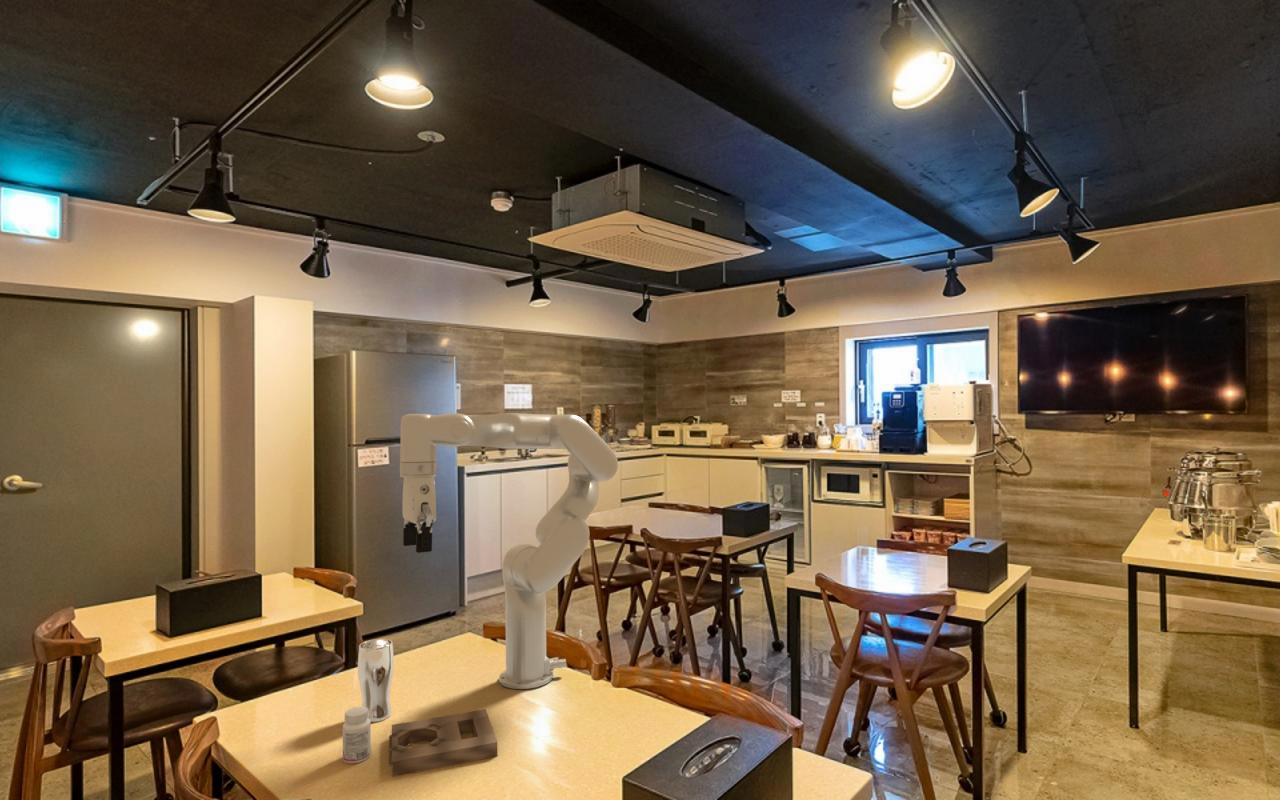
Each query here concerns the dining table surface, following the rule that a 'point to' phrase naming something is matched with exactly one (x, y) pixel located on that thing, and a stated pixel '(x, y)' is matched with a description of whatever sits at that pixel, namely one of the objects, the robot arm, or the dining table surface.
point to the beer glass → (376, 677)
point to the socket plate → (441, 742)
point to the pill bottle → (356, 735)
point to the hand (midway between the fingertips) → (417, 548)
